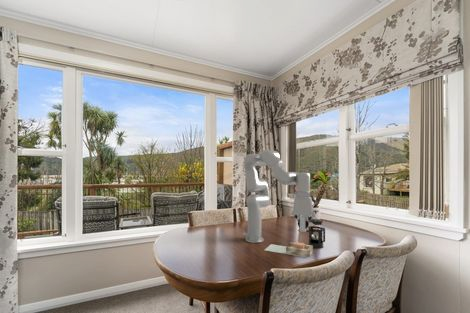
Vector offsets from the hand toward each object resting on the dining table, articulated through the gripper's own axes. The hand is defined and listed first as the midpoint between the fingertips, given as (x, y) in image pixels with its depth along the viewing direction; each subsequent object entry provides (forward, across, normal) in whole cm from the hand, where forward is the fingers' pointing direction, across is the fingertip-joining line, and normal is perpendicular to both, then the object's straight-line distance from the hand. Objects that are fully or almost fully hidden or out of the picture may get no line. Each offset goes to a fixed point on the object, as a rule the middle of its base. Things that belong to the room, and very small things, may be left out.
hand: (303, 227), depth 132 cm
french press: (+17, +3, +25) cm, 31 cm away
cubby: (+17, -4, +8) cm, 19 cm away
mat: (+17, -10, +8) cm, 22 cm away
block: (+17, -4, +8) cm, 19 cm away
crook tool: (+2, 0, +4) cm, 5 cm away
